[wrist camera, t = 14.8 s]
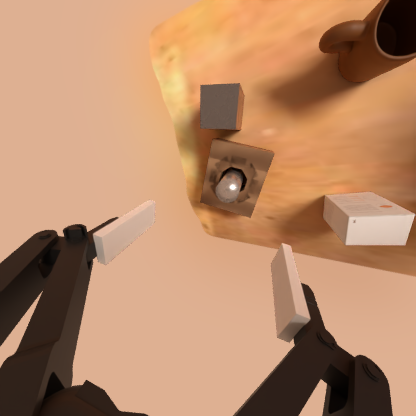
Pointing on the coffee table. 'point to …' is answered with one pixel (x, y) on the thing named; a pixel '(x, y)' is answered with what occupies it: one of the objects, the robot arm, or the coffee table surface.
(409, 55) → the mug
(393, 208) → the small box
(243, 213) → the socket block
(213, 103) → the square block
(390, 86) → the coffee table surface
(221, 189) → the round peg
